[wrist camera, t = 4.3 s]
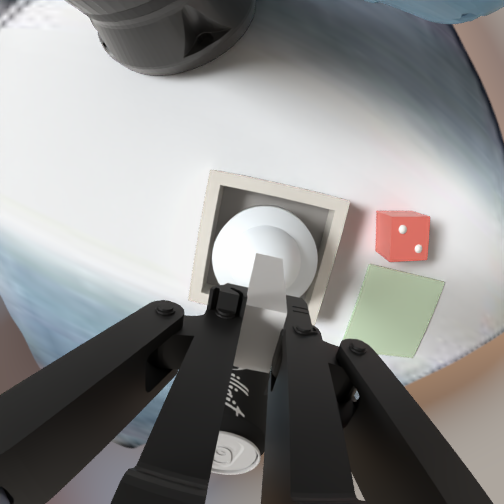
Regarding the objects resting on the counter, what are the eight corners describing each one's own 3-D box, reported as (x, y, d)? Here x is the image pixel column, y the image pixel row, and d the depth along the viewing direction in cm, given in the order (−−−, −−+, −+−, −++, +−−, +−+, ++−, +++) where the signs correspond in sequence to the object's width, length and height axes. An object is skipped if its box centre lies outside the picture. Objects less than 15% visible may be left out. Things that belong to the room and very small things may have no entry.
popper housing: (216, 170, 24) (210, 169, 22) (342, 198, 24) (350, 201, 22) (195, 289, 27) (188, 300, 25) (310, 314, 27) (313, 327, 25)
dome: (228, 195, 23) (216, 200, 18) (323, 216, 23) (336, 227, 18) (211, 284, 25) (197, 310, 20) (299, 303, 25) (305, 333, 20)
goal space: (369, 263, 26) (370, 264, 25) (443, 281, 25) (444, 282, 25) (339, 347, 28) (340, 349, 28) (411, 356, 28) (412, 357, 28)
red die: (376, 210, 24) (392, 216, 21) (411, 210, 24) (430, 216, 20) (375, 250, 25) (390, 262, 22) (409, 249, 25) (427, 260, 21)
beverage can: (274, 344, 28) (273, 436, 17) (265, 392, 30) (259, 481, 18) (208, 334, 29) (174, 420, 17) (205, 383, 30) (178, 468, 19)
